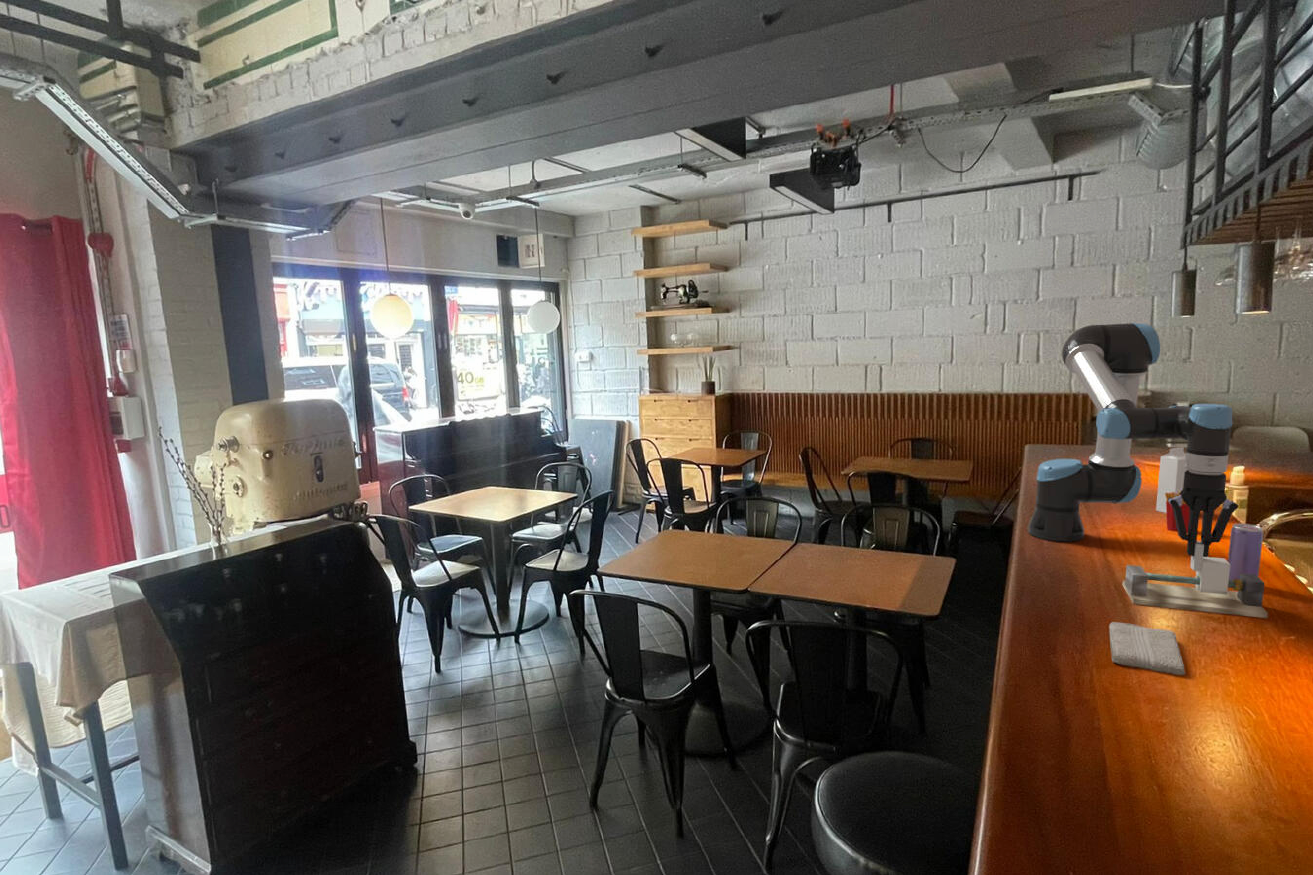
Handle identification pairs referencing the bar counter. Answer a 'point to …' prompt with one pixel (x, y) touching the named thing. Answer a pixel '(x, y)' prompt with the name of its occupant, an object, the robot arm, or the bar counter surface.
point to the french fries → (1170, 514)
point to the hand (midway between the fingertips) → (1195, 569)
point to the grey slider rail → (1195, 593)
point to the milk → (1170, 476)
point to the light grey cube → (1213, 575)
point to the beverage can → (1245, 550)
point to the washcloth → (1145, 648)
